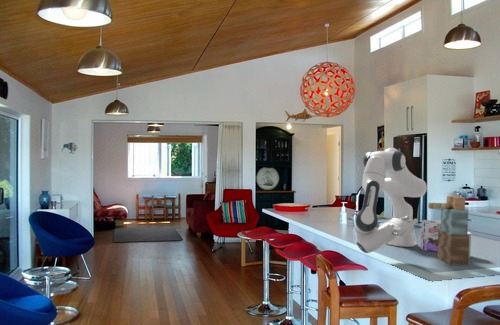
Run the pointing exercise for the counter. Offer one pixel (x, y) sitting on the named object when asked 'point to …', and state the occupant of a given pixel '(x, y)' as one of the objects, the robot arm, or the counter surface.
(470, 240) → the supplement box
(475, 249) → the counter surface
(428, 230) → the candy box
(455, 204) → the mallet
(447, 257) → the tower
